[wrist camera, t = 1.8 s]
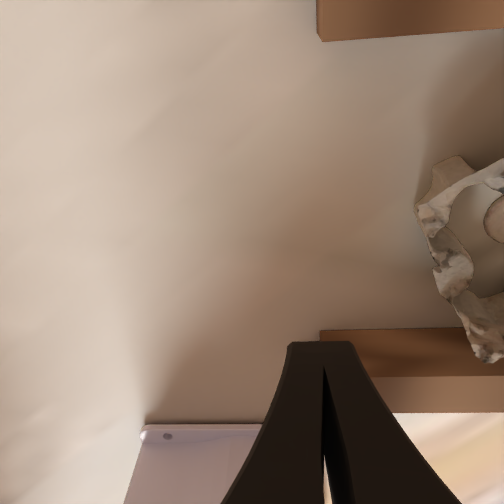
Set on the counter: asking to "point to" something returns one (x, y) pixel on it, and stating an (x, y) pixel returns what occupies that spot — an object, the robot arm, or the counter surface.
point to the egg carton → (464, 251)
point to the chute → (429, 339)
